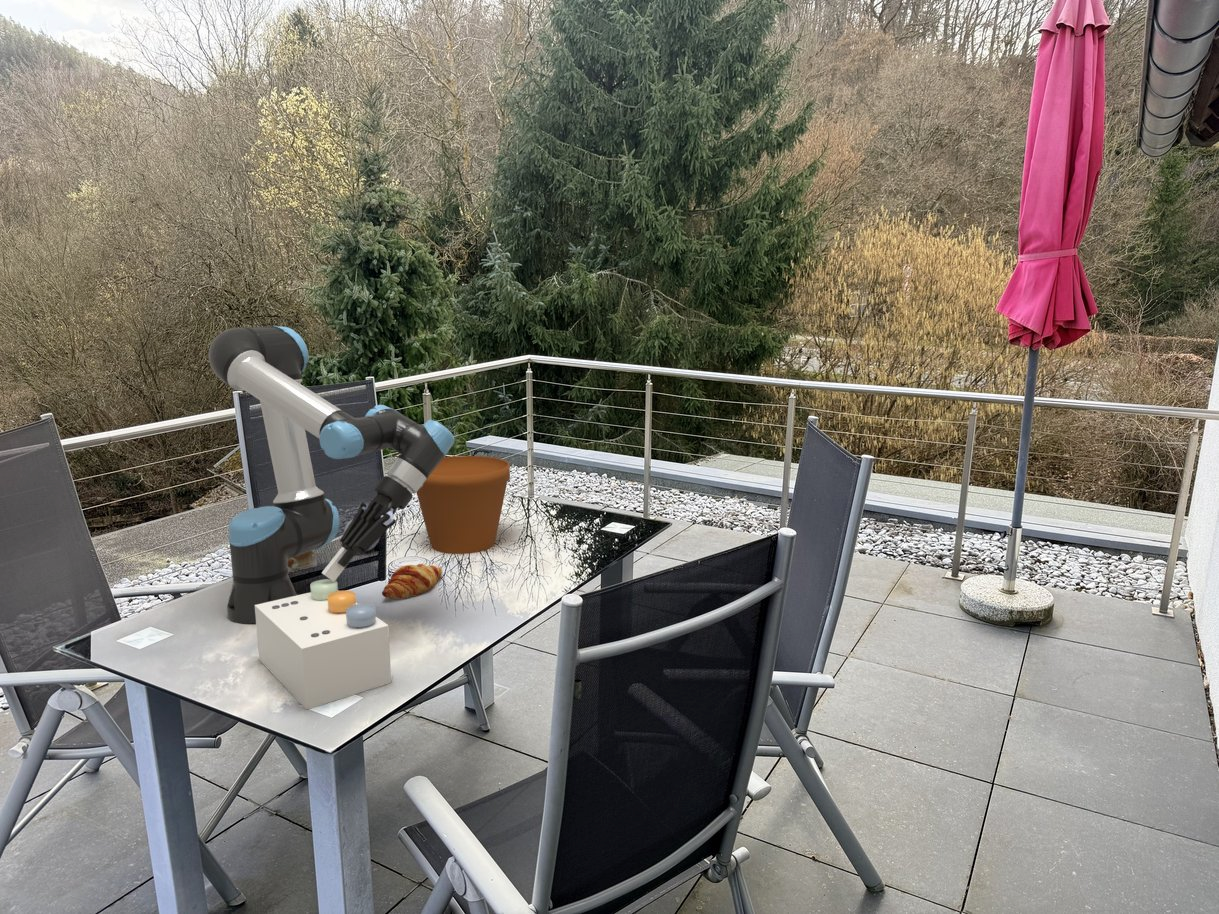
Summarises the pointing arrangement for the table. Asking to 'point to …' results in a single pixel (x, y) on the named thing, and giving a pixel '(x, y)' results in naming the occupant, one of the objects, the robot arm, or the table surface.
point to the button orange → (341, 601)
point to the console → (320, 650)
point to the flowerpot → (464, 503)
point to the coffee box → (302, 561)
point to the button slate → (360, 615)
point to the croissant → (411, 581)
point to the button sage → (323, 588)
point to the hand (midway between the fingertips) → (327, 577)
